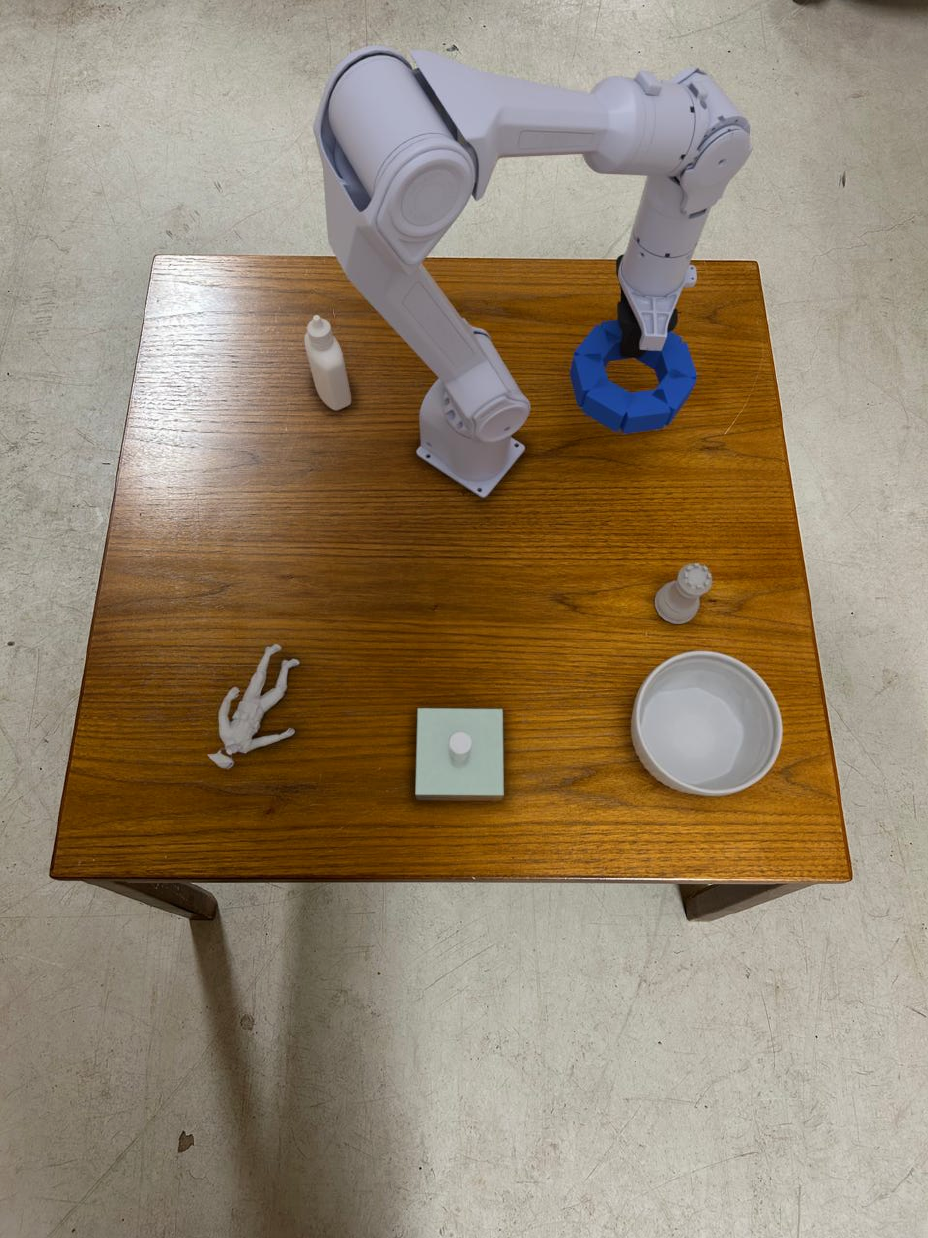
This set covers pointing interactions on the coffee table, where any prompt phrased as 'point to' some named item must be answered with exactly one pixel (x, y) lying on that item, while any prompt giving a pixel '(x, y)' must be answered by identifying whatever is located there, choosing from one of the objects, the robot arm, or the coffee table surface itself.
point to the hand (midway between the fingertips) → (630, 339)
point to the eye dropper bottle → (327, 364)
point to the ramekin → (706, 724)
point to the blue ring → (616, 402)
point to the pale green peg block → (459, 754)
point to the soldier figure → (251, 712)
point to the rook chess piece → (683, 594)
